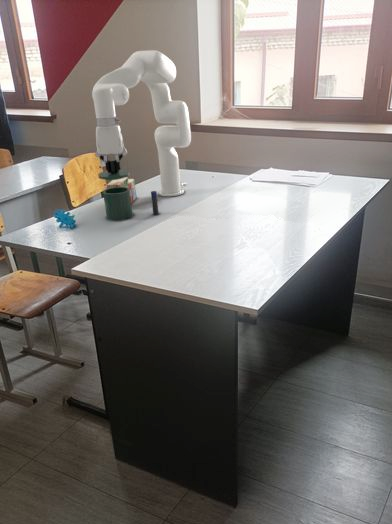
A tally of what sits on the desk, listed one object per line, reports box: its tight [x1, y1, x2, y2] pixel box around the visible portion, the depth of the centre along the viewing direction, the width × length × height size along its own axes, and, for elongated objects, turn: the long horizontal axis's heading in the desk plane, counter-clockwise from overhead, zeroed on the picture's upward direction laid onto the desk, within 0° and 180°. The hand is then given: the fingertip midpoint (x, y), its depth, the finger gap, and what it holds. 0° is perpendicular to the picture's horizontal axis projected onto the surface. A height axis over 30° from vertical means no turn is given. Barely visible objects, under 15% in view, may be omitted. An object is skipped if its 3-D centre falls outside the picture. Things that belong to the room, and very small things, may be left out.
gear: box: [53, 208, 77, 230], centre depth 218 cm, size 11×6×10 cm
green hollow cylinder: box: [102, 187, 134, 222], centre depth 224 cm, size 12×12×12 cm
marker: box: [150, 190, 160, 216], centre depth 225 cm, size 2×2×10 cm
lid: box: [97, 158, 131, 181], centre depth 203 cm, size 13×13×7 cm
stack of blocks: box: [106, 176, 138, 204], centre depth 240 cm, size 21×6×12 cm, turn 168°
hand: (113, 171), depth 203 cm, fingers closed on lid, 2 cm apart
